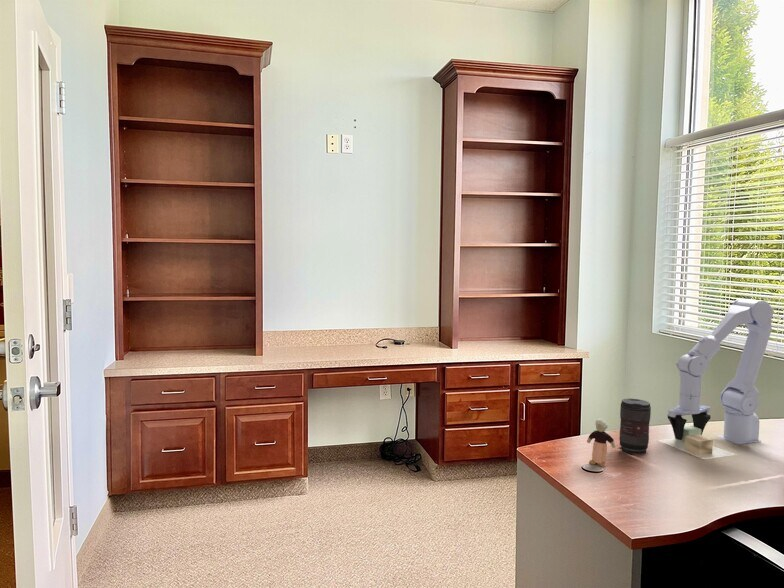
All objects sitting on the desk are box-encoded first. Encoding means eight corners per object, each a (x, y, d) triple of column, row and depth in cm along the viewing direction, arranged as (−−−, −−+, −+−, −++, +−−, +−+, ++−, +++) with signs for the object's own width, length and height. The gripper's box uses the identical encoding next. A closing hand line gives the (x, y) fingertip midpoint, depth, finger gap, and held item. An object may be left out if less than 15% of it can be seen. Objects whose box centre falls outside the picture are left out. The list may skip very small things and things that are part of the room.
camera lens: (652, 457, 163) (654, 405, 162) (622, 455, 164) (624, 404, 163) (644, 447, 171) (646, 398, 170) (616, 446, 172) (617, 397, 171)
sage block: (687, 436, 179) (688, 424, 179) (700, 442, 174) (701, 429, 174) (675, 438, 177) (675, 425, 177) (688, 443, 173) (688, 430, 172)
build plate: (687, 438, 180) (687, 436, 180) (735, 456, 164) (735, 454, 164) (657, 442, 176) (657, 440, 176) (703, 461, 160) (703, 459, 160)
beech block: (697, 447, 169) (698, 434, 169) (712, 453, 165) (713, 439, 164) (684, 449, 168) (685, 436, 168) (699, 455, 163) (699, 441, 163)
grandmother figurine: (584, 463, 157) (585, 418, 156) (586, 459, 161) (588, 415, 160) (614, 469, 154) (615, 422, 153) (615, 464, 157) (617, 419, 156)
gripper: (697, 389, 181) (695, 431, 182) (661, 392, 176) (659, 436, 177) (716, 394, 174) (714, 438, 175) (679, 398, 170) (677, 443, 171)
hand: (688, 437), depth 176 cm, fingers open, 7 cm apart
